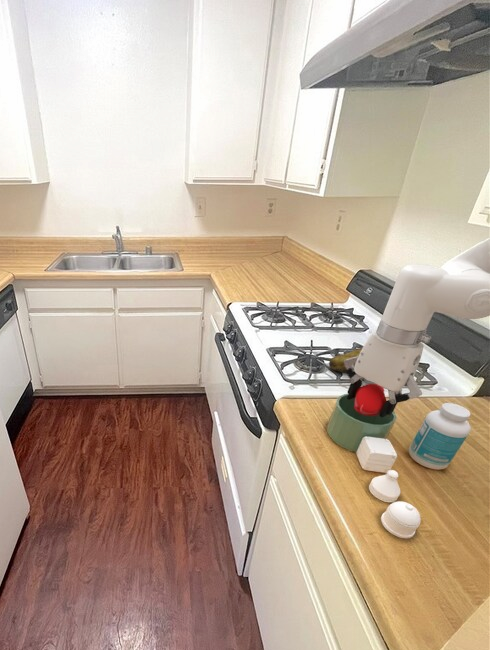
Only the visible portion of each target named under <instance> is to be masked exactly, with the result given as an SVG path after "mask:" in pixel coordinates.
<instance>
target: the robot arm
mask: <svg viewBox="0 0 490 650" xmlns="http://www.w3.org/2000/svg"><path fill="white" fill-rule="evenodd" d="M387 300H388V301H387V303H386V306H385V309H384V311H383V314H382V316H381V318H380V321H379V323H378V326H377V329H375V330H374V331H372V333H371V334H370V336H369V337H368V338H367V340H366V342H365V344H364V345H363V346H362V348H363V349H362V348H361V349H362V350H361V352H360V354H359V356H356V357H353V358H349V359H347V360H344V365H345V367H346V369H347V371H346V373H347V376H348V378H349V383H350V384H349V386H348V389H347V393H346V394H348V396H347V399H348V400H351V399H353V398H354V397H355V394H356V391H357V389H358V388H360V387H361V386H363V380H362V379H364V380H367V381H368V382H371V383H372V384H376V385H379V386H381V387H383V389H386V390H387V391H388V392H387V393H388V399H386V400H387V401H386V402H385V404H384V406H383V408H382V410H381V412H380V415H379V416H380V417H382V418H383V417H384V416H386V415H390V414H392V412H393V411H394V412H395V409H396V407H397V404H398V403H403V402H406V401H410V400H414V399H417V398H419V397H421V396H422V395H423V392H422V390H421V388H420V387H419V385H418V383H417V381H416V379H415V378H414V377H415V375H416V373H417V370H418V367H419V365H420V362H421V359H422V355H423V351H424V346H425V345H424V344H423V343H425V344H429V343H430V341H431V340H432V336H430V335H429V334H427V331H428V329H427V328H428V327H429V324H430V322H431V319H432V318H433V315H434V313H439V314H442V315H447V316H449V317H454V318H458V319H464V320H479V319H483V318H487V317H489V316H490V237H488V238H486V239H484V240H482V241H480V242H478V243H476V244H475V245H473V246H471V247H469V248H467V249H466V250H465V251H463V252H461V253H459V254H458V255H456V256H454V257H453V258H451V259H450V260H448V261H447V262H444V264H442V265H441V266H440V267H439V266H435V265H429V264H422V263H421V264H420V263H414V264H407V265H406V266H404V267H403V268H401V270H400V271H399V273H398V275H397V278H396V280H395V283H394V285H393V288H392V290H391V293H390V296H389V298H388V299H387ZM354 363H356V364H355V367H354ZM404 387H407V389H408V391H409V392H404V393H403V391H402V389H403V388H404Z"/></svg>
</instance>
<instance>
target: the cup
mask: <svg viewBox="0 0 490 650" xmlns="http://www.w3.org/2000/svg"><path fill="white" fill-rule="evenodd" d="M347 396H348V393H344V394H342V395H339V396H338V397H337V399H336V401H335V403H334V406H333V409H332V412H331V414H330V416H329V417H330V418H329V420H328V422H327V426H326V432H327V434H328V436H329V438H330V439H331V440H332V441H333V442H334V443H335V444H337V445H338V446H340V447H342V448H344V449H346V450H348V451H351V452H353V453H357V450H358V447H359V445H360V443H361V441H362V439H363V437H366V436H367V437H375V438H383V439H387V440H388V437H389V435H390V432H391V431H392V429H393V427H394V425H395V423H396V420H397V414H396V412H395V410H394V411H393V412H392V414H390V415H386V416H384V417H383V418H382V417H380V416H379V415H380V413H379V414H378V415H376V416H366V415H362V414H360V413H358V412H357V411H356V410H355V408H354V405H355V397H354V398H353V399H351V400H348V399H347ZM358 408H359V407H358Z"/></svg>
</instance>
